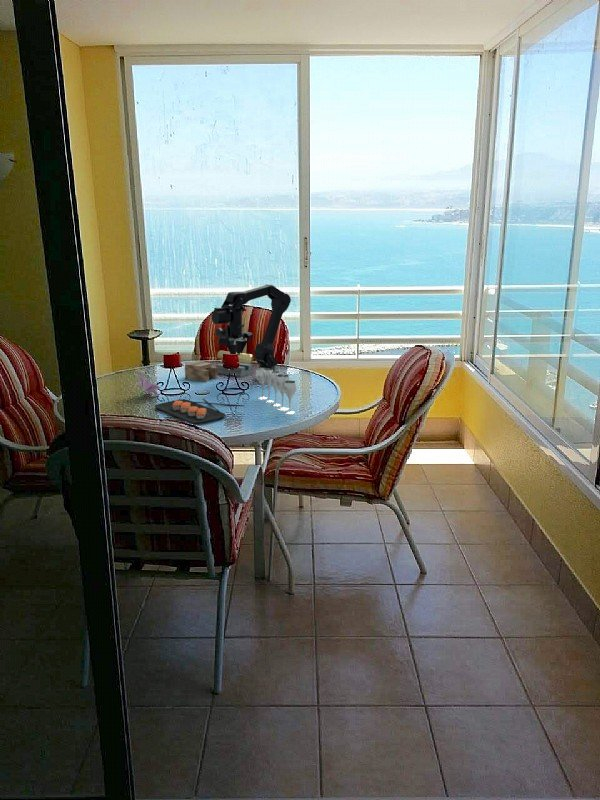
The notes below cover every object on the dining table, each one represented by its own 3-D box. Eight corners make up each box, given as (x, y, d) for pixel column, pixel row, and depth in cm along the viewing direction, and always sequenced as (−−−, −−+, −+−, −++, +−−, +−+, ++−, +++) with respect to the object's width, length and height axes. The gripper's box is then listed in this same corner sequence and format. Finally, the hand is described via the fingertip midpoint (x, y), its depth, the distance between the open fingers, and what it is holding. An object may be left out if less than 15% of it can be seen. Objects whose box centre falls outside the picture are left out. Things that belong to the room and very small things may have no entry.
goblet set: (299, 413, 236) (299, 378, 232) (286, 415, 233) (286, 380, 230) (265, 395, 259) (265, 363, 256) (253, 397, 257) (252, 365, 253)
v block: (252, 372, 297) (252, 364, 296) (240, 377, 288) (240, 368, 287) (228, 369, 303) (227, 360, 302) (215, 373, 295) (215, 364, 294)
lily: (162, 403, 250) (167, 380, 252) (133, 395, 244) (139, 371, 246) (151, 405, 260) (157, 383, 262) (124, 397, 254) (130, 374, 256)
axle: (253, 363, 272) (253, 353, 271) (248, 364, 269) (248, 355, 268) (222, 359, 280) (222, 350, 279) (217, 360, 276) (217, 351, 275)
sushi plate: (151, 410, 240) (151, 400, 239) (216, 395, 260) (215, 386, 259) (195, 428, 220) (195, 418, 219) (261, 411, 239) (261, 402, 238)
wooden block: (217, 378, 286) (217, 364, 284) (206, 381, 279) (206, 367, 277) (196, 374, 291) (195, 361, 290) (185, 378, 285) (184, 364, 283)
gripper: (232, 317, 281) (232, 352, 285) (206, 323, 265) (208, 359, 269) (253, 319, 276) (253, 354, 280) (228, 325, 260) (229, 362, 264)
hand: (236, 358), depth 274 cm, fingers closed on axle, 4 cm apart
